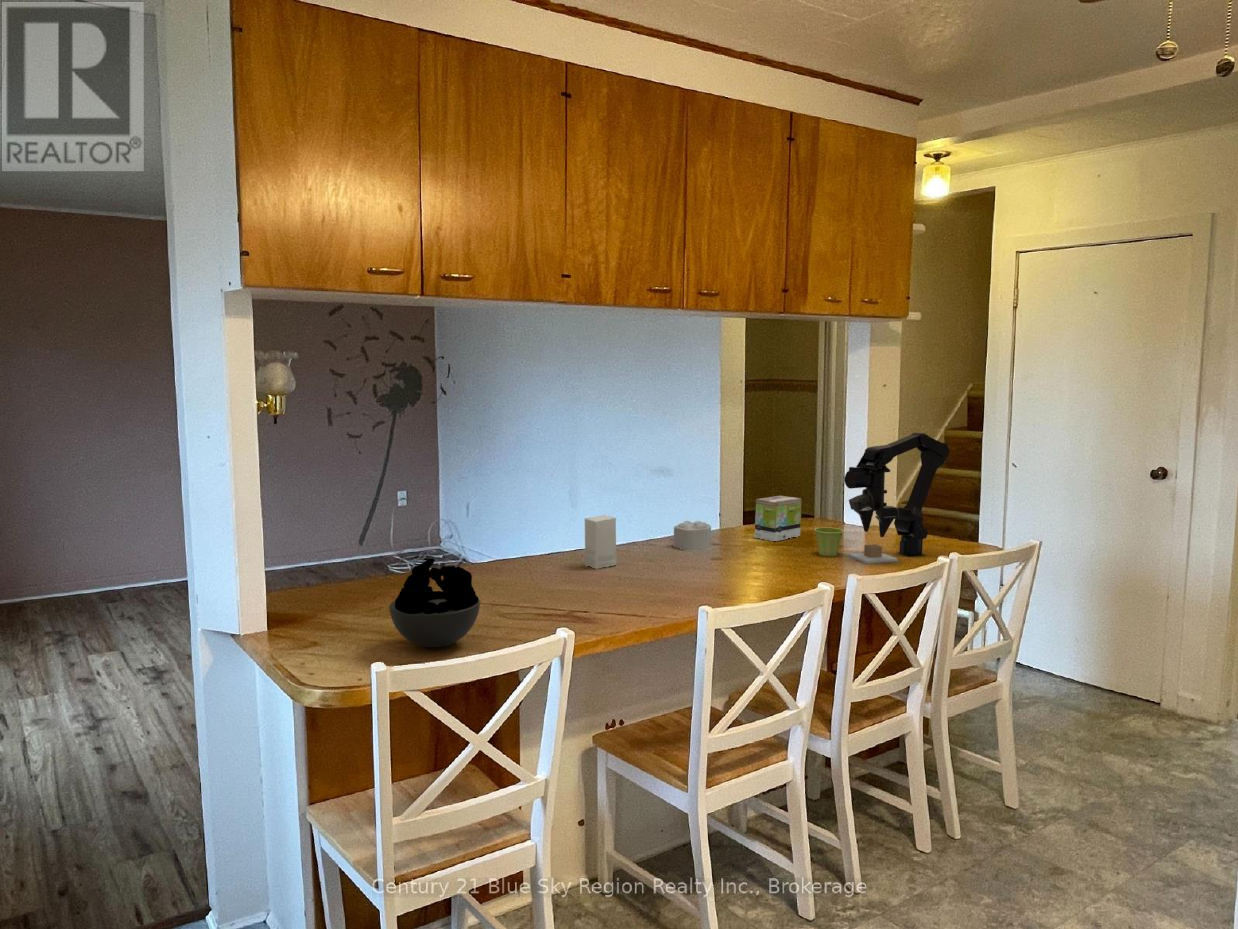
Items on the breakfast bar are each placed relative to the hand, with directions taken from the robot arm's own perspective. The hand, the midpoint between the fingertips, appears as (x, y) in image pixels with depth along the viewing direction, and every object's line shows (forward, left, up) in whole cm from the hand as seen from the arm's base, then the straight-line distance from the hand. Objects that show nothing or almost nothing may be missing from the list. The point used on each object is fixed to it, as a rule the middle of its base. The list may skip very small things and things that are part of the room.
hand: (873, 534), depth 285 cm
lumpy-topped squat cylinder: (+48, -36, -9) cm, 61 cm away
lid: (0, 0, -8) cm, 8 cm away
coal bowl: (+143, +50, -9) cm, 152 cm away
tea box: (+13, -42, -9) cm, 45 cm away
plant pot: (+11, -10, -9) cm, 17 cm away
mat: (0, 0, -8) cm, 8 cm away
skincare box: (+87, -16, -9) cm, 89 cm away
